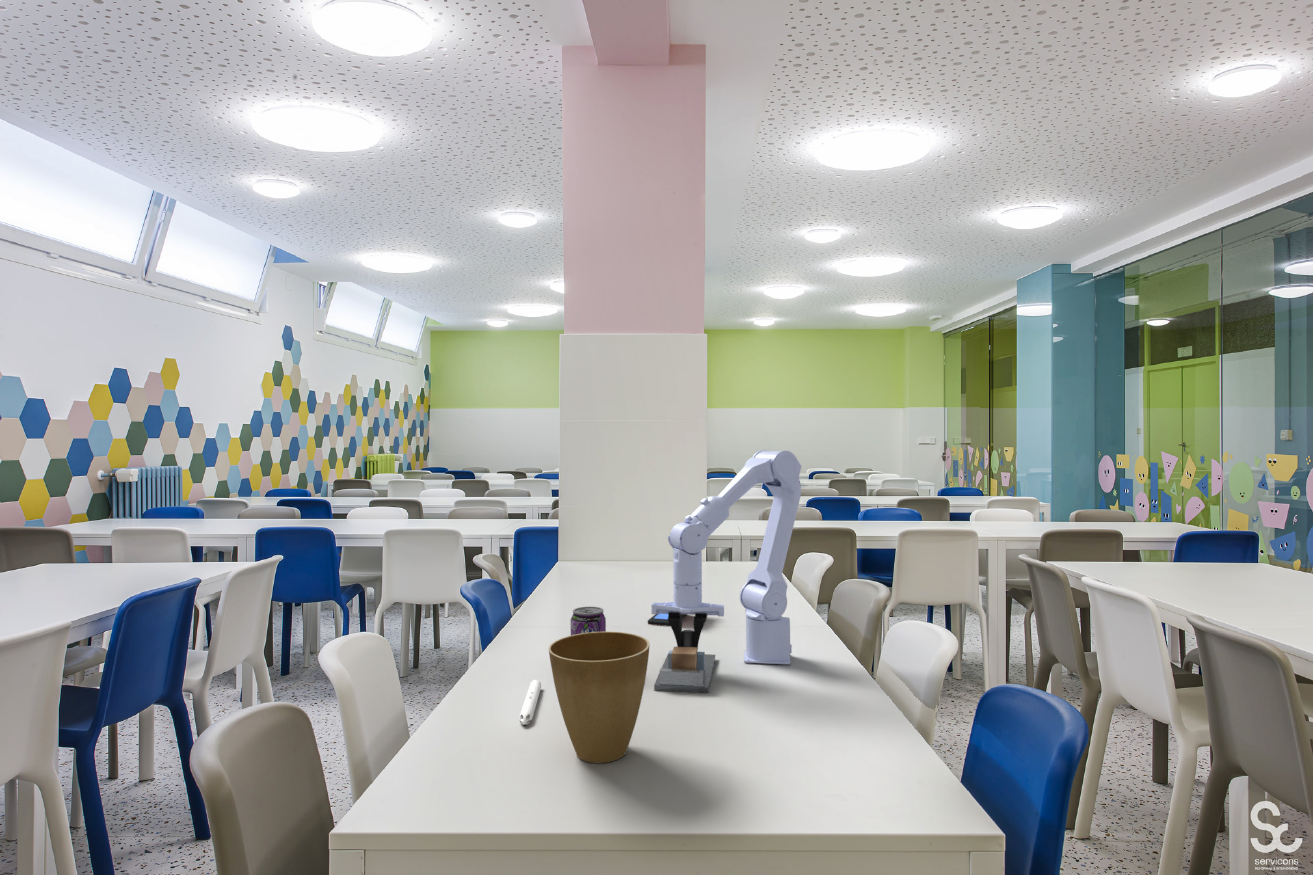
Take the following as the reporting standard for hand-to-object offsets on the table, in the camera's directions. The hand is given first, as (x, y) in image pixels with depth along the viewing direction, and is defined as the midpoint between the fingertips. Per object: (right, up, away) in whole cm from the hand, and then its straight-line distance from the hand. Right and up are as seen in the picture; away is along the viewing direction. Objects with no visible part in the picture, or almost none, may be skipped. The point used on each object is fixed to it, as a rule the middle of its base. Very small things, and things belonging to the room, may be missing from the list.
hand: (687, 650), depth 142 cm
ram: (0, -3, -2) cm, 3 cm away
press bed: (0, -4, -2) cm, 5 cm away
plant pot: (-15, -4, -38) cm, 41 cm away
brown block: (-1, -3, -7) cm, 8 cm away
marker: (-28, -4, -19) cm, 35 cm away
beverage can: (-20, -4, +1) cm, 21 cm away
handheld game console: (-2, -5, +40) cm, 40 cm away
